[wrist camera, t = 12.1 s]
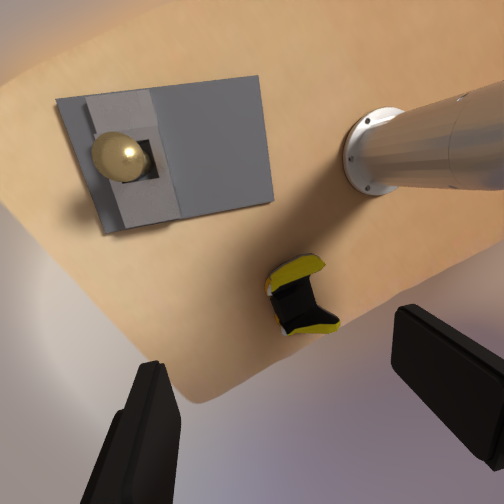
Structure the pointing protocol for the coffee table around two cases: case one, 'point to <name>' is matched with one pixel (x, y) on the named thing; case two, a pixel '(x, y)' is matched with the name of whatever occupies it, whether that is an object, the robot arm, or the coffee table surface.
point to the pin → (120, 157)
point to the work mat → (190, 147)
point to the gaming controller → (298, 298)
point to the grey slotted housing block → (142, 131)
